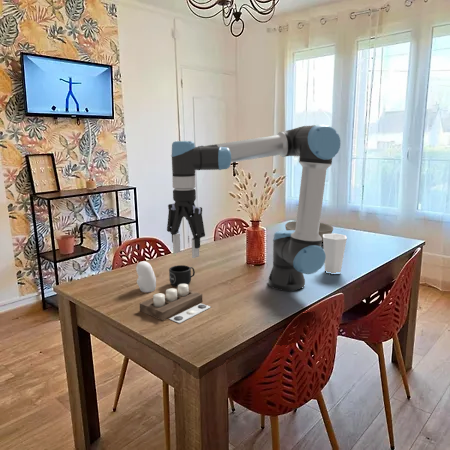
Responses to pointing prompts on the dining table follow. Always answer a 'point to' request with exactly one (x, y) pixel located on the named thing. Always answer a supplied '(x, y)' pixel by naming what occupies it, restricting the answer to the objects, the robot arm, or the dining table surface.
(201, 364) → the dining table surface
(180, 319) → the card
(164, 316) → the board
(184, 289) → the button right
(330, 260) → the cup
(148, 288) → the figurine
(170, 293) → the button middle
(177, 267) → the mug
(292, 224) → the bowl
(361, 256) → the dining table surface
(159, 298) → the button left
